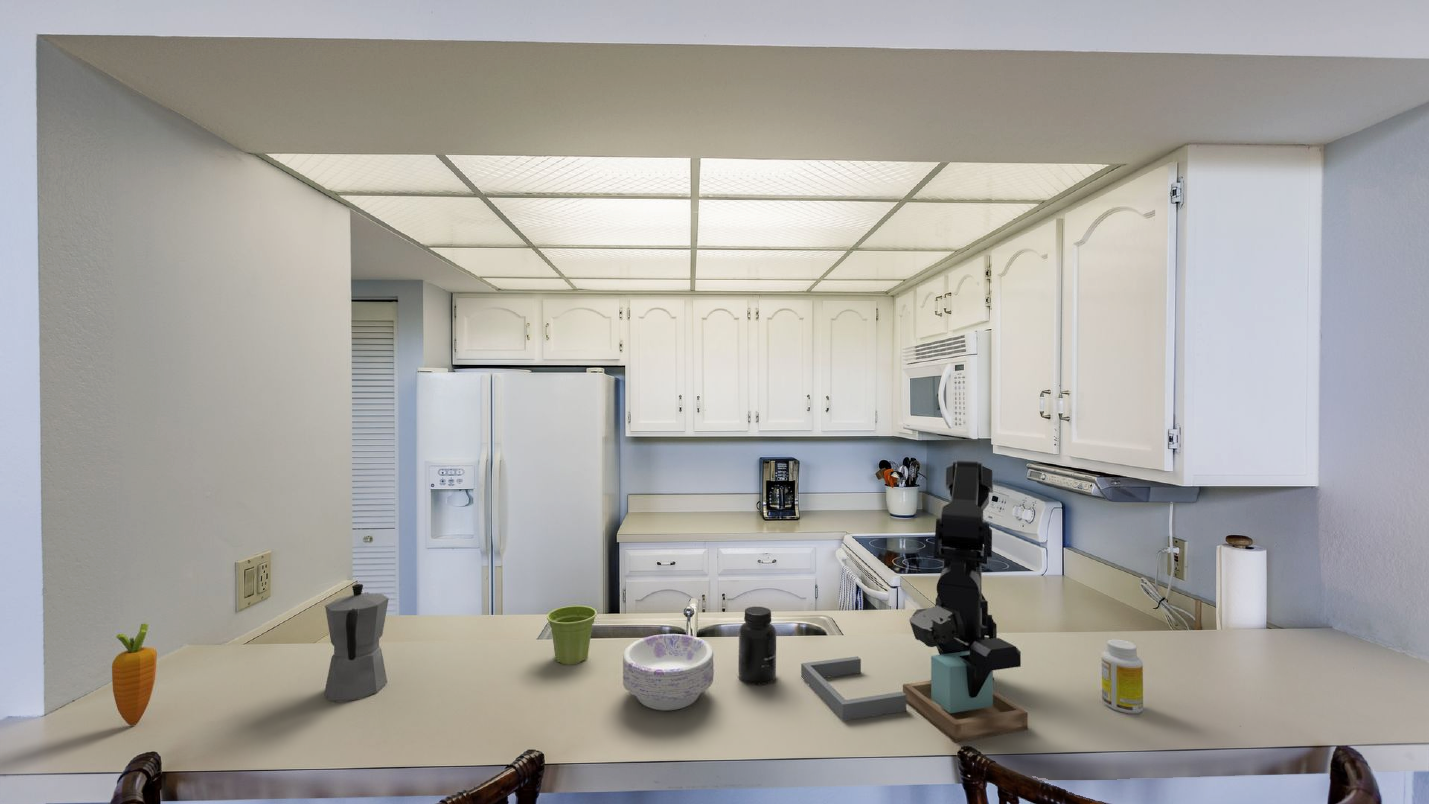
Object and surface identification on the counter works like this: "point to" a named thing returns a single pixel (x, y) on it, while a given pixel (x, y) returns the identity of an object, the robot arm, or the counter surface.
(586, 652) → the plant pot
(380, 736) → the counter surface
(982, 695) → the tall aqua prism
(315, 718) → the counter surface
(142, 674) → the carrot
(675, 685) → the paper bowls
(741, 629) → the supplement bottle
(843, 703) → the bay
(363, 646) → the coffeepot
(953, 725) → the tray
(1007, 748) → the counter surface
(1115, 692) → the supplement bottle
